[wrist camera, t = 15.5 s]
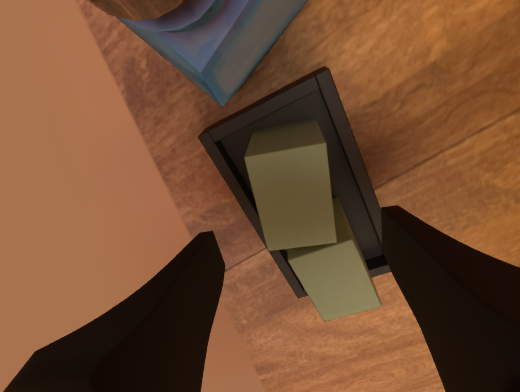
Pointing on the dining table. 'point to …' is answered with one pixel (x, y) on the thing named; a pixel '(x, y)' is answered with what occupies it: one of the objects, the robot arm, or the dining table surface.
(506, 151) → the dining table surface
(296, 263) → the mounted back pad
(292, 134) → the olive boxy piece
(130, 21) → the perfume bottle
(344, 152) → the frame
